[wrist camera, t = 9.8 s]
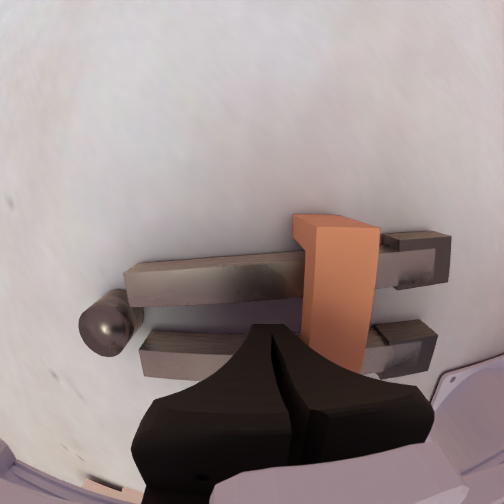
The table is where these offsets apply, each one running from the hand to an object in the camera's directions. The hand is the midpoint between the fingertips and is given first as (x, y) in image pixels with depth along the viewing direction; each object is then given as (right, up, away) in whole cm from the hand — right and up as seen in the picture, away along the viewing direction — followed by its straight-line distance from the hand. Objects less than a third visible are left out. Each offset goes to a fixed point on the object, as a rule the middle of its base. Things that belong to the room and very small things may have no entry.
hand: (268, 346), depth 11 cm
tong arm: (+1, +3, +2) cm, 4 cm away
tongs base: (0, 0, +3) cm, 3 cm away
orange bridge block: (+2, +1, +3) cm, 3 cm away
